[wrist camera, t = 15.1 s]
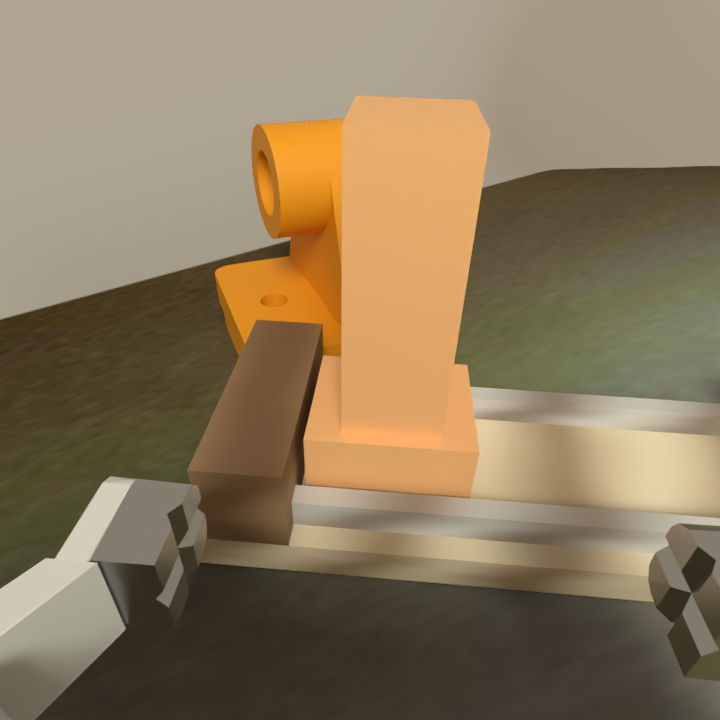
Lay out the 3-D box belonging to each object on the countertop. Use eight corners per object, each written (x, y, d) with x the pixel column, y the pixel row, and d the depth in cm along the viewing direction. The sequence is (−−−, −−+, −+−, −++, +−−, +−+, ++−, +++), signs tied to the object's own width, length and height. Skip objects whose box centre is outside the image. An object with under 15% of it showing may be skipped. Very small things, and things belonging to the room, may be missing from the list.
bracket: (218, 304, 35) (186, 106, 28) (321, 286, 37) (317, 99, 30) (257, 404, 27) (228, 161, 20) (386, 373, 29) (401, 146, 22)
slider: (306, 496, 20) (285, 127, 12) (324, 409, 24) (317, 91, 16) (466, 509, 19) (549, 139, 12) (457, 418, 23) (514, 99, 16)
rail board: (191, 561, 19) (165, 468, 16) (251, 402, 27) (241, 318, 24) (965, 629, 18) (1087, 540, 15) (805, 442, 25) (866, 357, 22)
